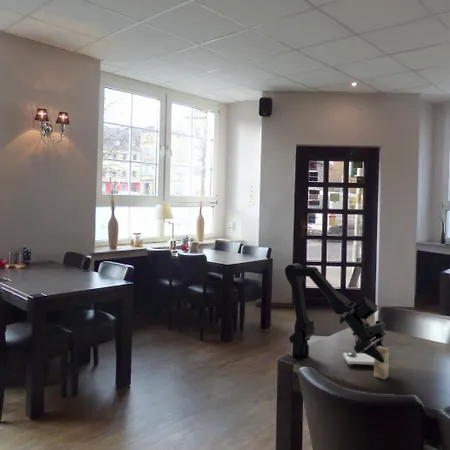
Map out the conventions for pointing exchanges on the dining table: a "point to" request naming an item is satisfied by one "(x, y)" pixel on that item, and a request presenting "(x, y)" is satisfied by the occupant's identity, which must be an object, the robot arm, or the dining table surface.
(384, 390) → the dining table surface
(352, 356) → the silver metal dome
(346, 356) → the white square board
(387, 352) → the beech post
